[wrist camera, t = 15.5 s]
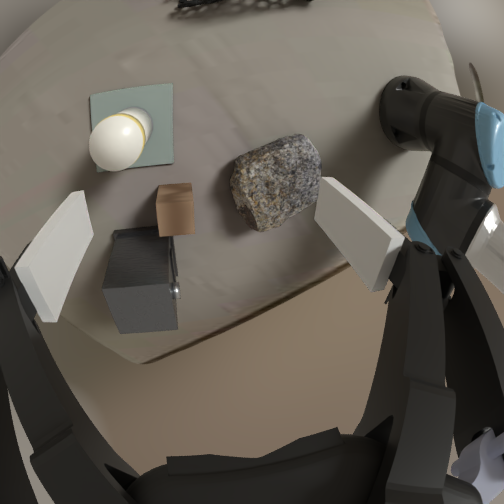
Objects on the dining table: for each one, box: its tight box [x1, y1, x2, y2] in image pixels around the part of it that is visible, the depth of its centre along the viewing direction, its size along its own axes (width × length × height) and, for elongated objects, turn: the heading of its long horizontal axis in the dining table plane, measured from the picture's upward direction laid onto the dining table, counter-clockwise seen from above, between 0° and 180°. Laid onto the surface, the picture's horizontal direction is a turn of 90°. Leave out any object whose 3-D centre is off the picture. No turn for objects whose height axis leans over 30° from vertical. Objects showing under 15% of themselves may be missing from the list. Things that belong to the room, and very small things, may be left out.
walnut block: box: [156, 183, 195, 237], centre depth 38 cm, size 5×5×7 cm
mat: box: [90, 83, 174, 172], centre depth 32 cm, size 12×12×1 cm
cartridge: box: [89, 107, 153, 171], centre depth 28 cm, size 6×6×11 cm
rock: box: [230, 134, 321, 232], centre depth 41 cm, size 13×6×15 cm
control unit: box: [102, 226, 181, 334], centre depth 39 cm, size 10×10×14 cm
